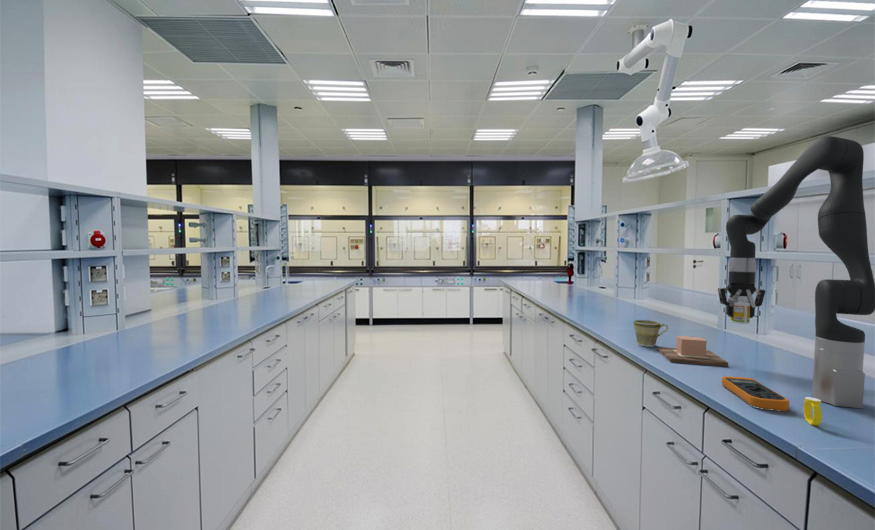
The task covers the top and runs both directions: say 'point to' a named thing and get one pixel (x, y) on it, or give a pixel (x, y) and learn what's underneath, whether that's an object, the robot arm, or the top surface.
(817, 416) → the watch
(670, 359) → the walnut board
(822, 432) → the top surface
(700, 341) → the terracotta block
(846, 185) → the robot arm
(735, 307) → the supplement bottle
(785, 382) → the top surface
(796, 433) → the top surface
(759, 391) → the multimeter
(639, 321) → the ceramic cup
